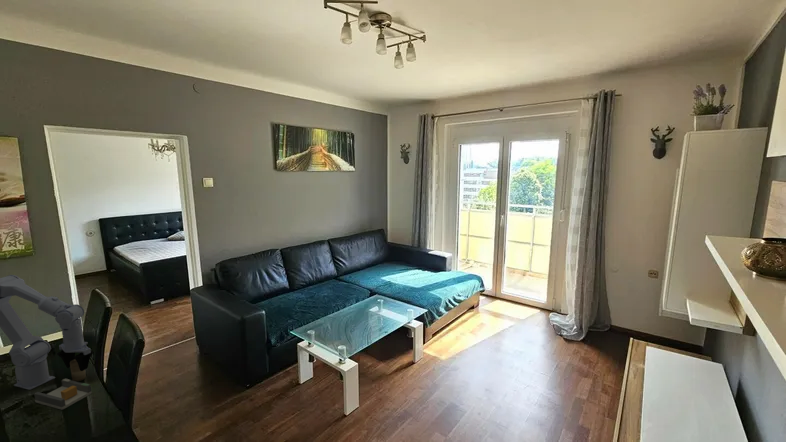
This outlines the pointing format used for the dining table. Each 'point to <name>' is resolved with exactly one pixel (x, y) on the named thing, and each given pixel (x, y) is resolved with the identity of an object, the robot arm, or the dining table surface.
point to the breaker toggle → (69, 392)
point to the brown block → (76, 371)
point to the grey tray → (55, 396)
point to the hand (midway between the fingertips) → (77, 368)
